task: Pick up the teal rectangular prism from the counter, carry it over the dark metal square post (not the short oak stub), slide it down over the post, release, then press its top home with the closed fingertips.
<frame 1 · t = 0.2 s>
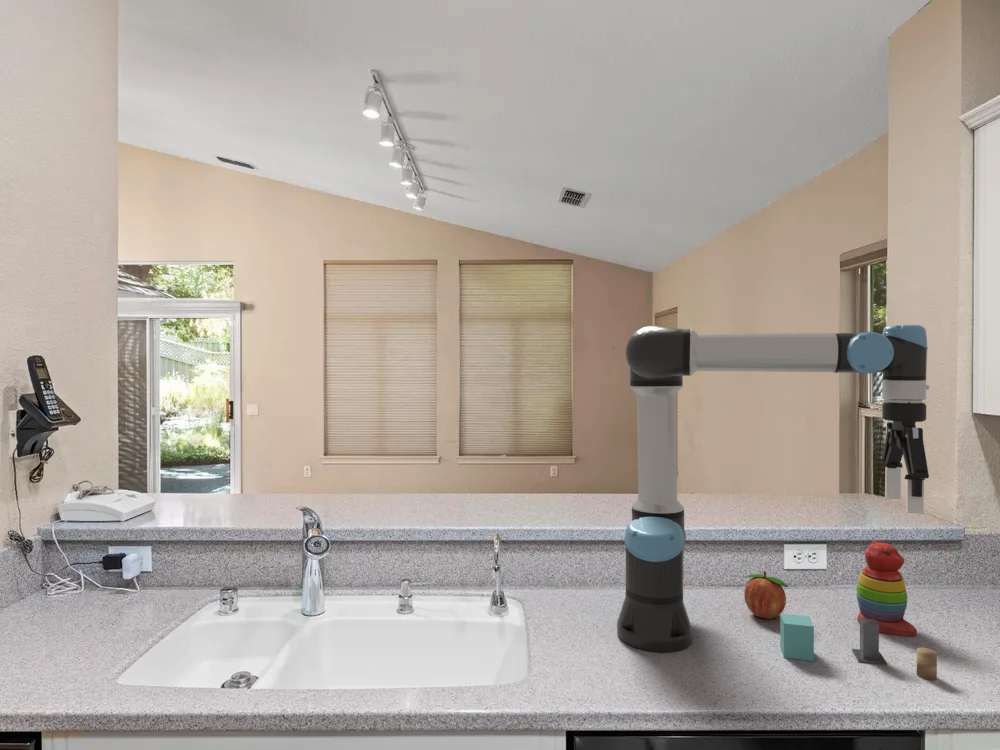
hand: (903, 505, 127), 27 cm above the worktop, fingers open, 13 cm apart
stacking bear: (883, 626, 135), on the worktop
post: (869, 657, 120), on the worktop
teal rectangular prism: (796, 653, 122), on the worktop
fruit: (764, 616, 140), on the worktop
oak stub: (926, 676, 113), on the worktop
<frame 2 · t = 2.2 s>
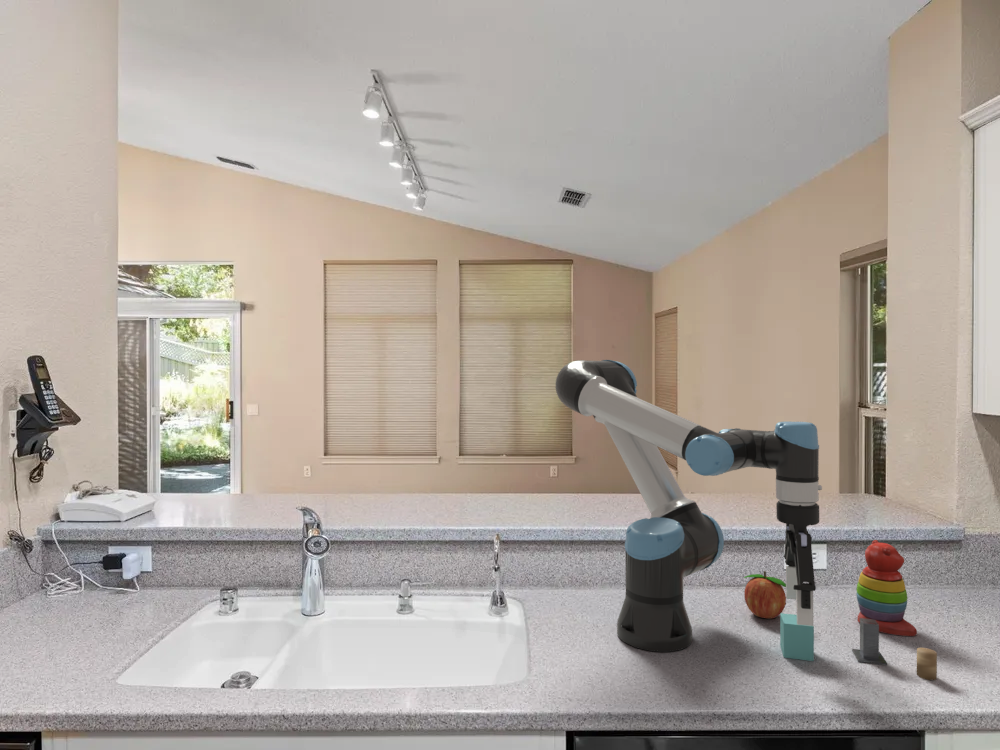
hand: (799, 611, 121), 8 cm above the worktop, fingers open, 13 cm apart
nothing on the worktop moved.
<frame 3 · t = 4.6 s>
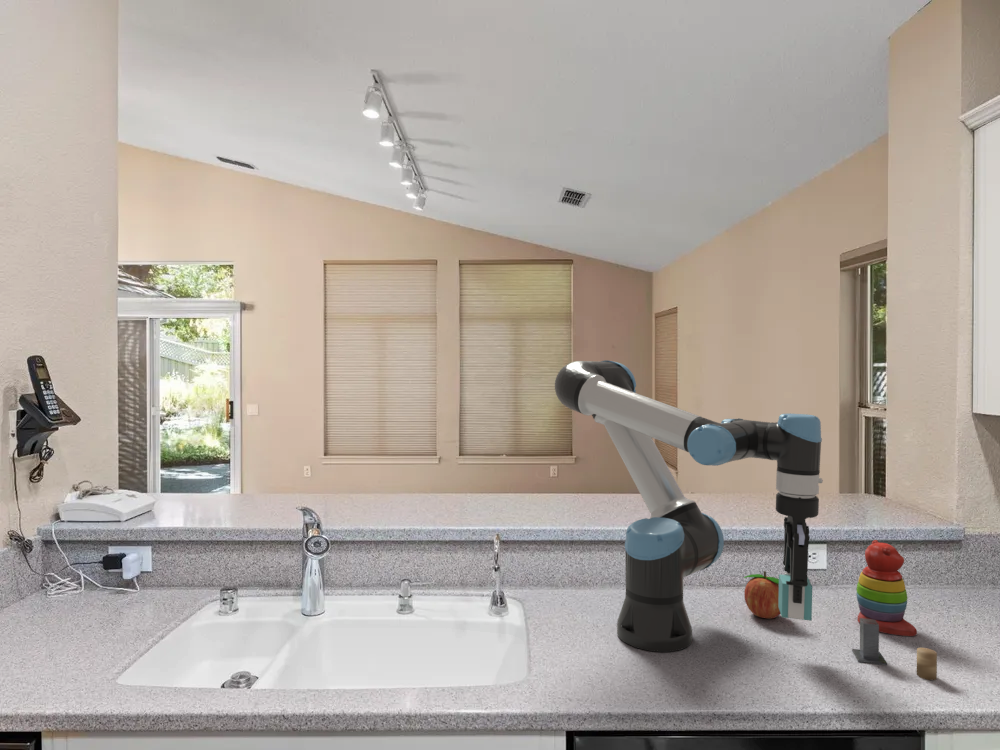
hand: (793, 611, 122), 8 cm above the worktop, fingers closed on teal rectangular prism, 5 cm apart
teal rectangular prism: (794, 613, 122), point 8 cm above the worktop, touching gripper
everything else where it was.
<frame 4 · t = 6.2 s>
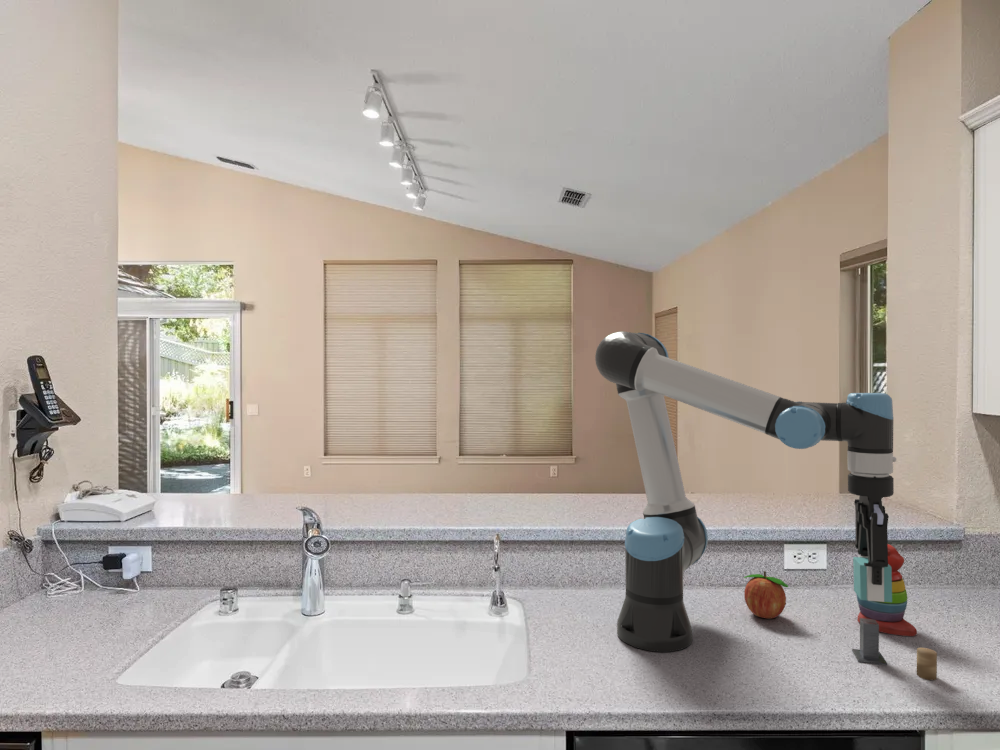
hand: (871, 594, 120), 12 cm above the worktop, fingers closed on teal rectangular prism, 5 cm apart
teal rectangular prism: (872, 596, 119), point 12 cm above the worktop, touching gripper
everything else where it was.
when the fingers open (2 cm above the worktop, at t = 8.2 s): teal rectangular prism stays where it is, resting on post.
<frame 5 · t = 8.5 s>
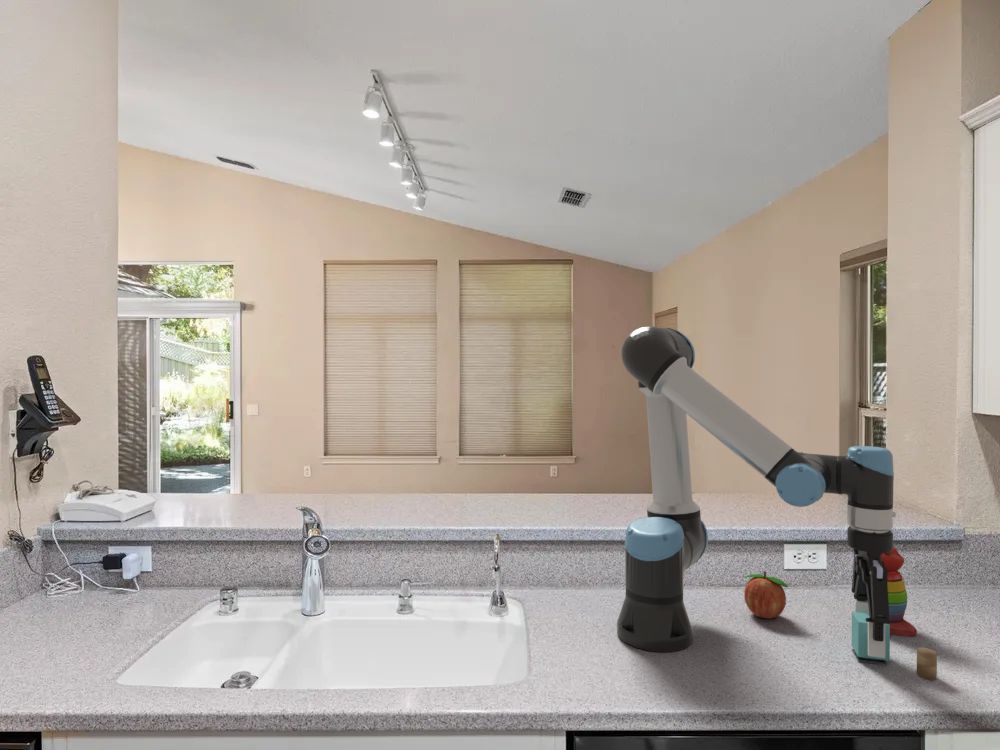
hand: (869, 644, 120), 3 cm above the worktop, fingers open, 9 cm apart
teal rectangular prism: (870, 652, 120), point 1 cm above the worktop, touching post
everything else where it was.
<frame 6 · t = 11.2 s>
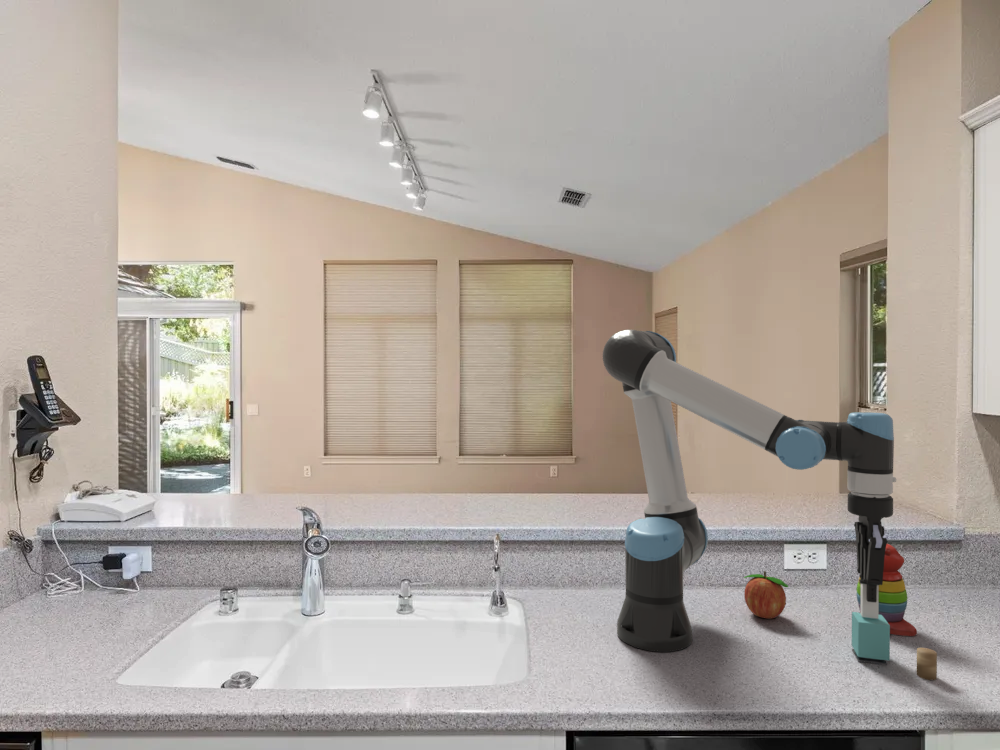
hand: (869, 616, 120), 8 cm above the worktop, fingers closed
nothing on the worktop moved.
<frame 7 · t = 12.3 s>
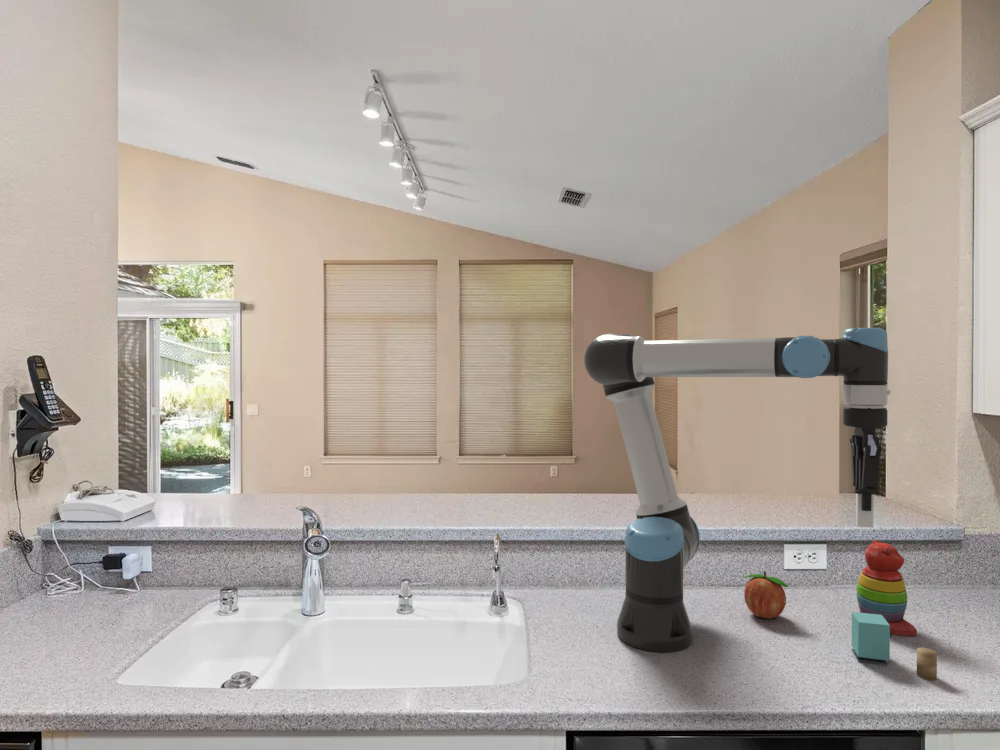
hand: (864, 525, 123), 24 cm above the worktop, fingers closed
nothing on the worktop moved.
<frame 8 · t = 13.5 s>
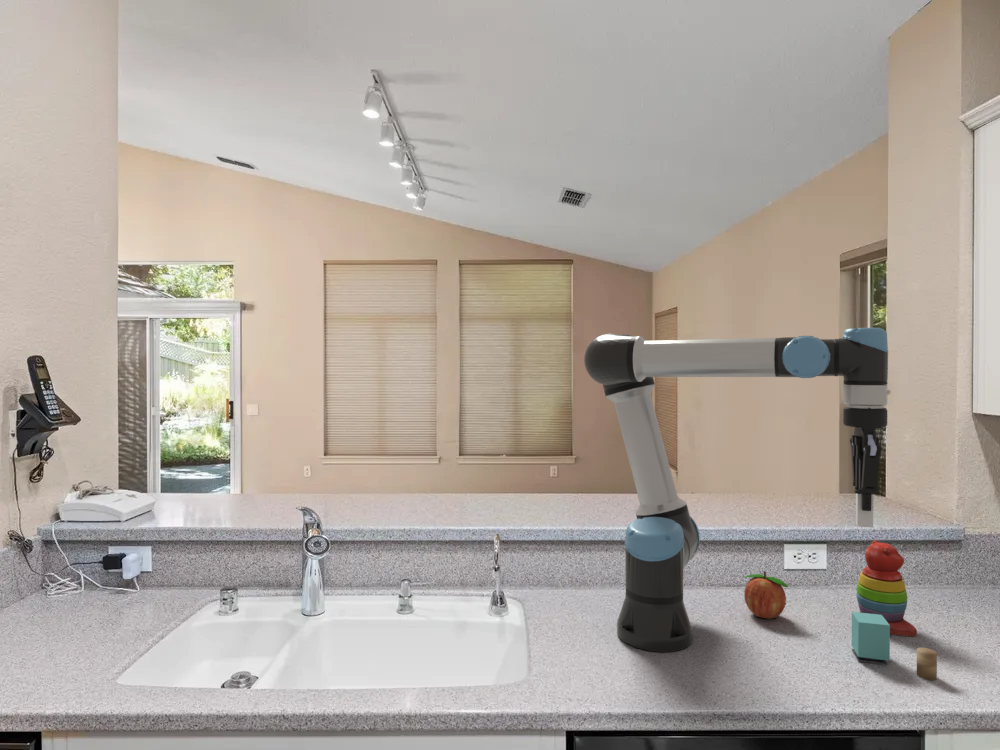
hand: (864, 525, 123), 24 cm above the worktop, fingers closed
nothing on the worktop moved.
at the end: teal rectangular prism 0.2 cm from the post (horizontally); teal rectangular prism point 1.0 cm above the worktop; the gripper is holding nothing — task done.
